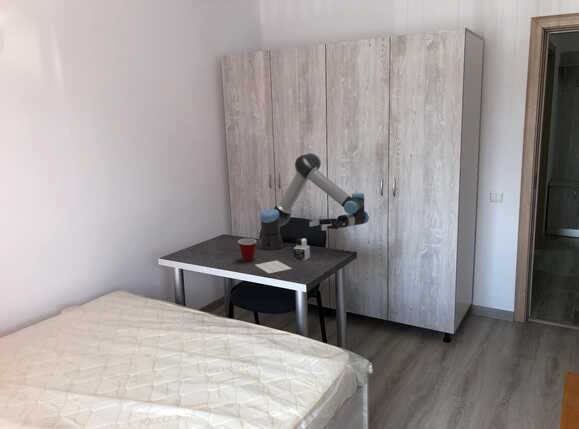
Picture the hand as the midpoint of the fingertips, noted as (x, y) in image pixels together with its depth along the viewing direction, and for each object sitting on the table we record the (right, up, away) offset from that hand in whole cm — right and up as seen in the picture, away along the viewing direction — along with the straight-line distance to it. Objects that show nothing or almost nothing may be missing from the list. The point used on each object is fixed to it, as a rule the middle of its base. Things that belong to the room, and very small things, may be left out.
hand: (315, 226), depth 277 cm
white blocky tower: (-8, -19, -1) cm, 21 cm away
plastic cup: (-39, -20, +1) cm, 44 cm away
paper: (-24, -22, -14) cm, 36 cm away
